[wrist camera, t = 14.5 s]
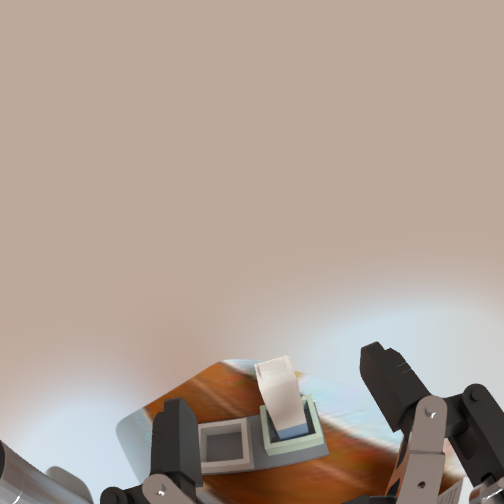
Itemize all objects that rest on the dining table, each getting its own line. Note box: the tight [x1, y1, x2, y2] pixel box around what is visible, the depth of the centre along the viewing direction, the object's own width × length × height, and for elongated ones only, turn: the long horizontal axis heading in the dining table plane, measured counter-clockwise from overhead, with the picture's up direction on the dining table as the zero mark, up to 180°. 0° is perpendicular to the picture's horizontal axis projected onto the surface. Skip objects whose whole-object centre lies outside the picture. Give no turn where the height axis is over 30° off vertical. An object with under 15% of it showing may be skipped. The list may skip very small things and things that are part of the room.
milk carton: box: [254, 355, 309, 442], centre depth 28 cm, size 4×4×14 cm
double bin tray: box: [198, 394, 329, 475], centre depth 30 cm, size 17×9×3 cm, turn 94°
